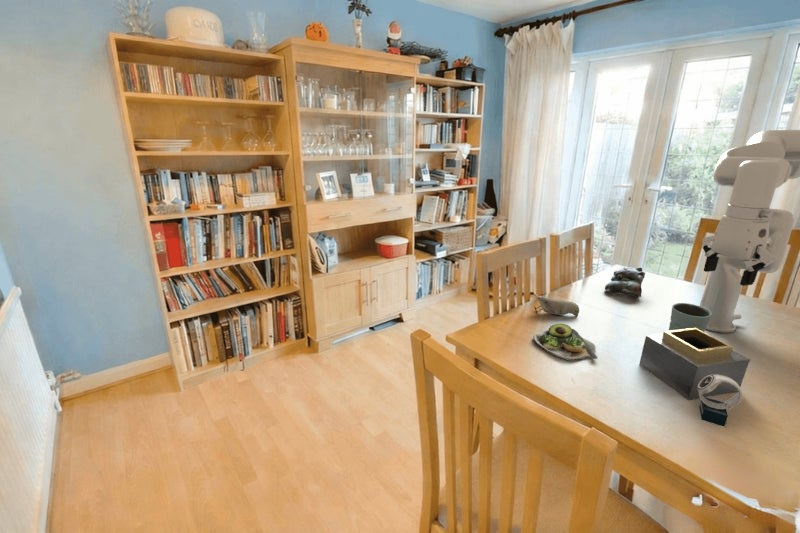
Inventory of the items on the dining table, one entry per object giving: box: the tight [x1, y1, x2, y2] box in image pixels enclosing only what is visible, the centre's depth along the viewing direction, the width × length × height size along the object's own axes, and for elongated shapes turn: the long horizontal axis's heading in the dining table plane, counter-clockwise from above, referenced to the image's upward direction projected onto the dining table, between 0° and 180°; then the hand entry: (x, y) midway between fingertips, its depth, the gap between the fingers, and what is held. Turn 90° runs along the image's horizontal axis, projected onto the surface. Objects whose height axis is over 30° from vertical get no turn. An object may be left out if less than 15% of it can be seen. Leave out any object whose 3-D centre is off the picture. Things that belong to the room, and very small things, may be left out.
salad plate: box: [533, 323, 599, 361], centre depth 120 cm, size 19×18×5 cm
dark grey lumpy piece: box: [603, 266, 646, 298], centre depth 159 cm, size 15×12×14 cm
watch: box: [697, 374, 743, 428], centre depth 89 cm, size 6×8×11 cm
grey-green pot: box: [667, 302, 712, 332], centre depth 121 cm, size 10×10×12 cm
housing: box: [638, 328, 751, 401], centre depth 103 cm, size 16×16×12 cm
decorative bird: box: [534, 294, 580, 318], centre depth 141 cm, size 5×16×8 cm, turn 77°
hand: (726, 277), depth 97 cm, fingers open, 9 cm apart
